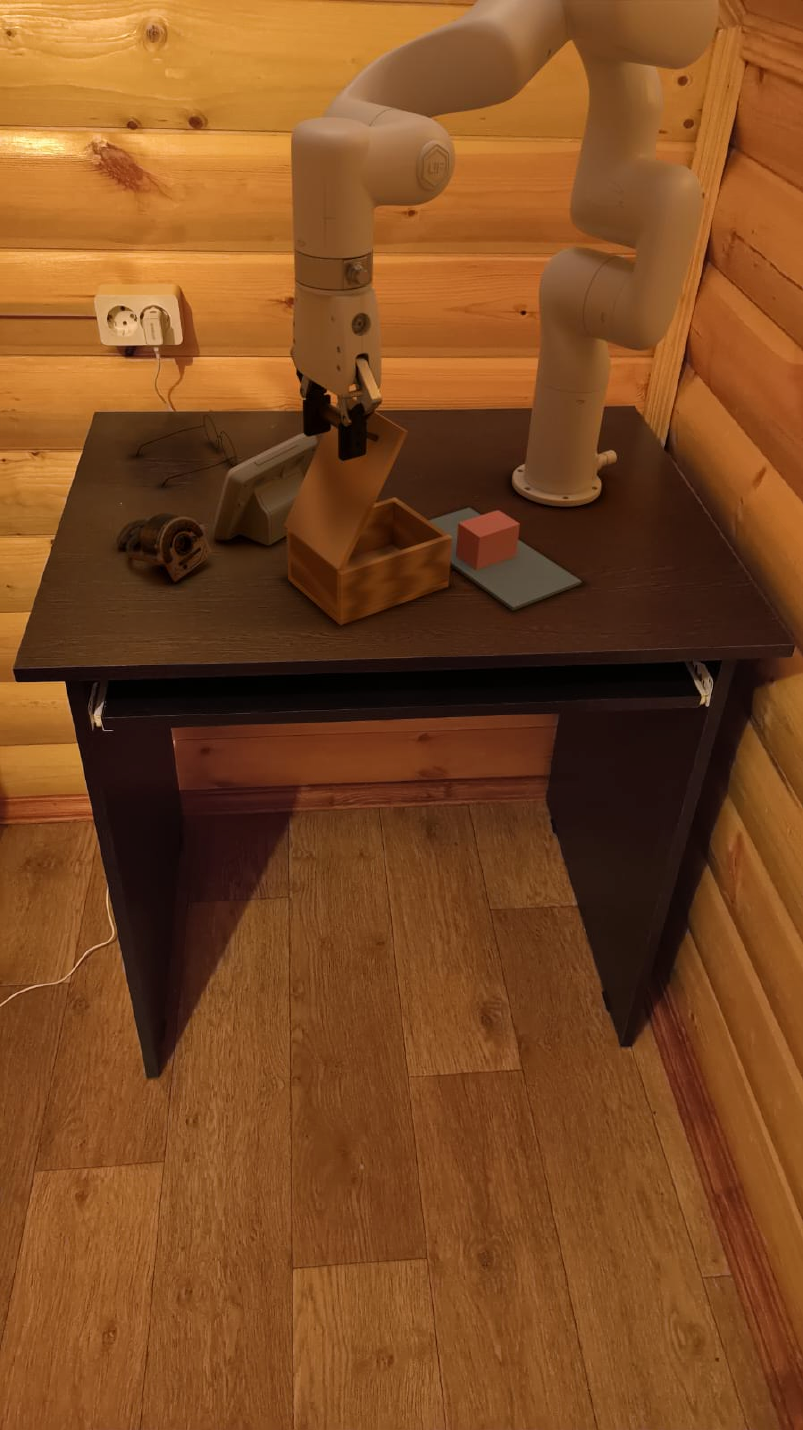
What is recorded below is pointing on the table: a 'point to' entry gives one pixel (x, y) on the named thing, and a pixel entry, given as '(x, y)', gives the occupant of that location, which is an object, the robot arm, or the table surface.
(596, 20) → the robot arm
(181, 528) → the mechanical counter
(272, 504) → the digital clock
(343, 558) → the lid
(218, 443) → the eyeglasses
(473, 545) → the eraser
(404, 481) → the table surface
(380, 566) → the pencil box
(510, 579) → the mat
